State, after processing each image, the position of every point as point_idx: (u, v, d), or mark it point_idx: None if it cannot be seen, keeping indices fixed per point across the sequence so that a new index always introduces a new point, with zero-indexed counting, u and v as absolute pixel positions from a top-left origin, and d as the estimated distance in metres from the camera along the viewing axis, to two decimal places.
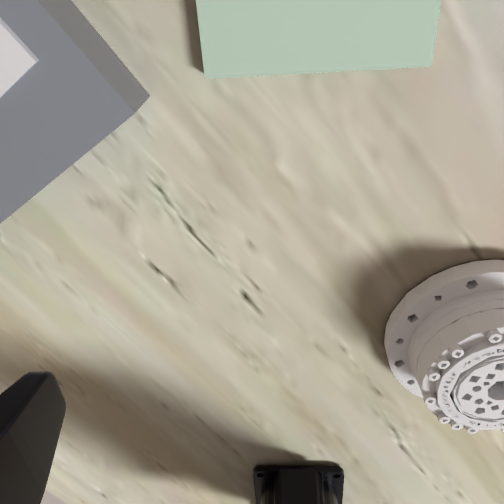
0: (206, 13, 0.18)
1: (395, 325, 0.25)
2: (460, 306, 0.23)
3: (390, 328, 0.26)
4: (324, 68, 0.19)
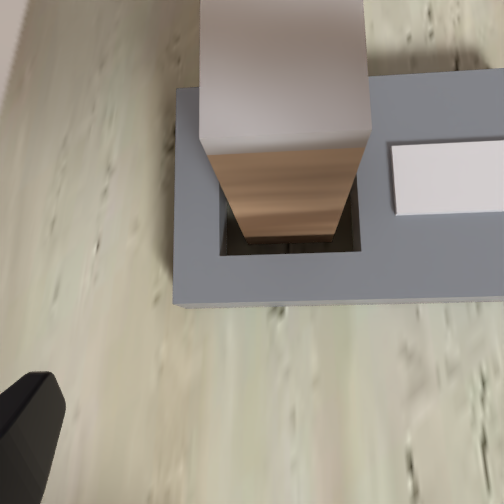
0: None
1: None
2: None
3: None
4: None
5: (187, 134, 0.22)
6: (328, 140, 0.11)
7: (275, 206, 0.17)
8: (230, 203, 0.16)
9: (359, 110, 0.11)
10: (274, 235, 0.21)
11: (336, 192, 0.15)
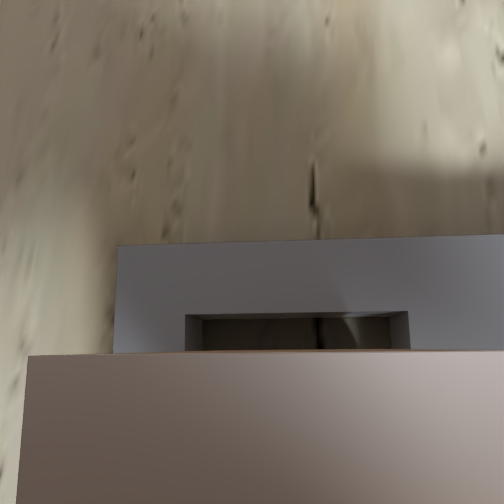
0: None
1: None
2: None
3: None
4: None
5: (133, 327, 0.13)
6: None
7: None
8: None
9: None
10: None
11: None
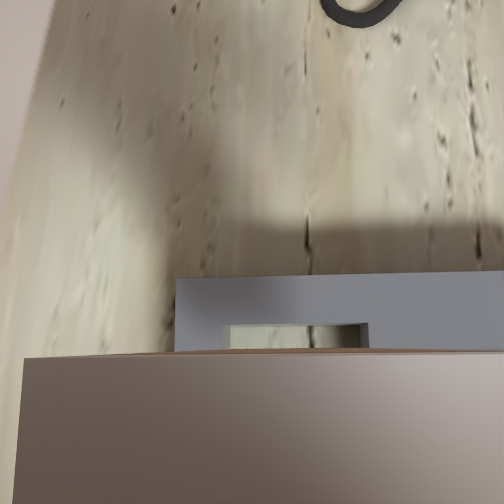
0: None
1: None
2: None
3: None
4: None
5: (187, 333, 0.20)
6: None
7: None
8: None
9: None
10: None
11: None
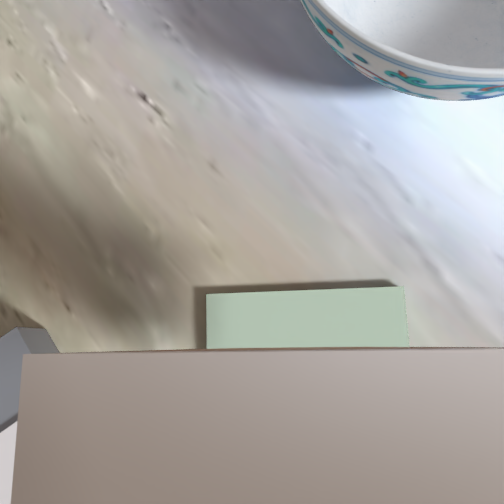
0: None
1: None
2: None
3: None
4: None
5: None
6: None
7: None
8: None
9: None
10: None
11: None
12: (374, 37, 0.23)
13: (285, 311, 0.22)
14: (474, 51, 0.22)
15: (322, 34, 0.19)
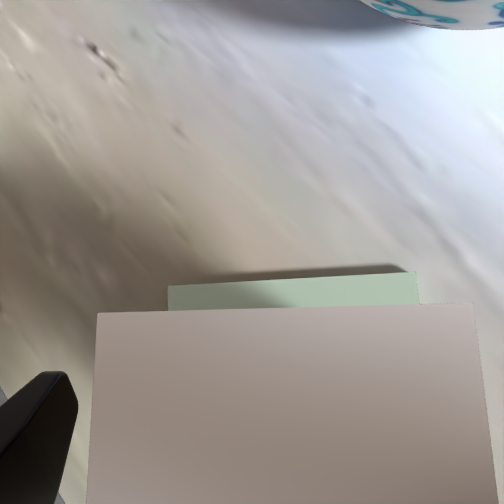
0: None
1: None
2: None
3: None
4: None
5: None
6: None
7: None
8: None
9: None
10: None
11: None
12: None
13: (267, 305, 0.17)
14: None
15: None
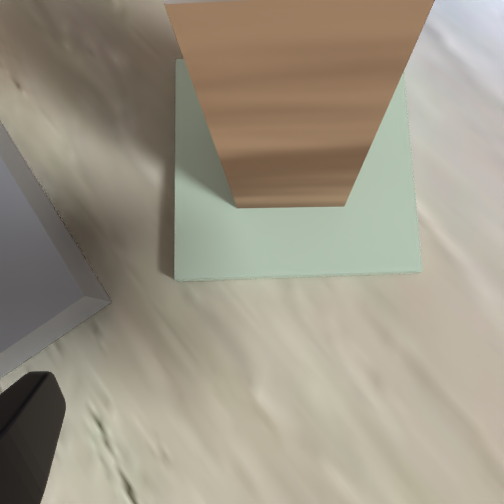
0: (183, 216, 0.18)
1: None
2: None
3: None
4: (305, 270, 0.17)
5: None
6: None
7: (276, 136, 0.12)
8: (210, 128, 0.11)
9: None
10: (271, 193, 0.16)
11: (368, 108, 0.10)
12: None
13: None
14: None
15: None
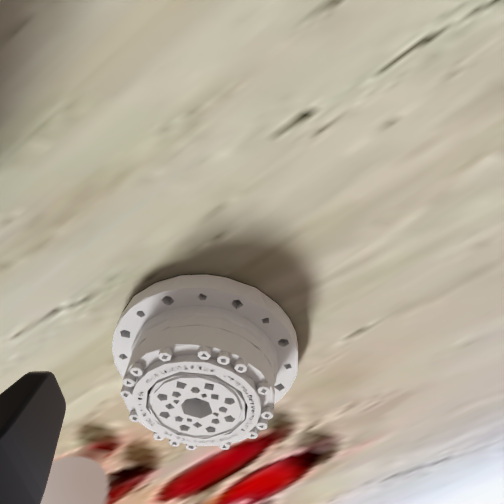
0: None
1: (223, 289, 0.23)
2: (264, 342, 0.23)
3: (213, 282, 0.23)
4: None
5: None
6: None
7: None
8: None
9: None
10: None
11: None
12: None
13: None
14: None
15: None
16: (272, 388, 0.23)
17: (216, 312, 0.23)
